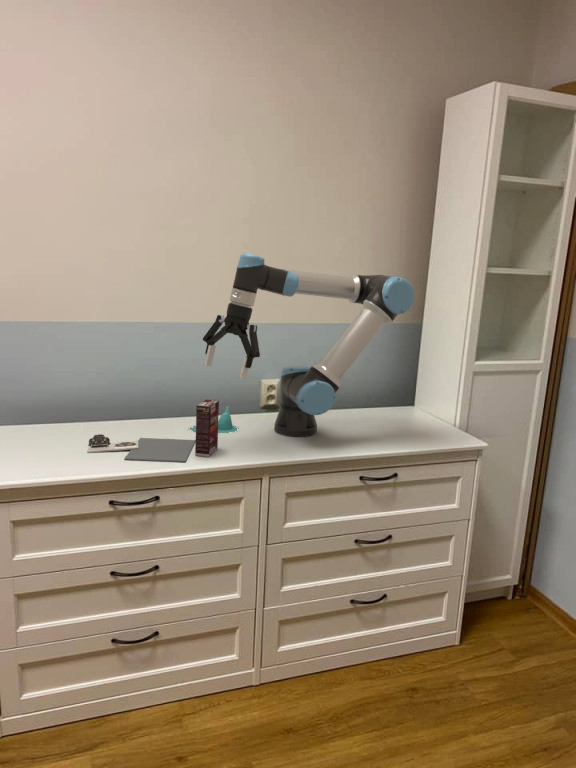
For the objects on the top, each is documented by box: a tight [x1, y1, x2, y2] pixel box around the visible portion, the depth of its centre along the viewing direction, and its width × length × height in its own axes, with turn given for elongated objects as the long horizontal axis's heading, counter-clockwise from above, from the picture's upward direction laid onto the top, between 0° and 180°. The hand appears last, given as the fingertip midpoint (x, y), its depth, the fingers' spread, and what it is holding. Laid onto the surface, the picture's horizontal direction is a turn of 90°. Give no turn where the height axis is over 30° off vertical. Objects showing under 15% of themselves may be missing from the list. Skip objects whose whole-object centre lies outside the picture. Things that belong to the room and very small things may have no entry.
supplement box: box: [194, 399, 220, 458], centre depth 186 cm, size 9×5×16 cm, turn 168°
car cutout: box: [86, 433, 139, 454], centre depth 187 cm, size 15×7×4 cm, turn 105°
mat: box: [123, 437, 196, 463], centre depth 188 cm, size 18×20×1 cm
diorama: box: [189, 405, 238, 434], centre depth 212 cm, size 12×20×9 cm, turn 100°
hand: (224, 371), depth 188 cm, fingers open, 13 cm apart
